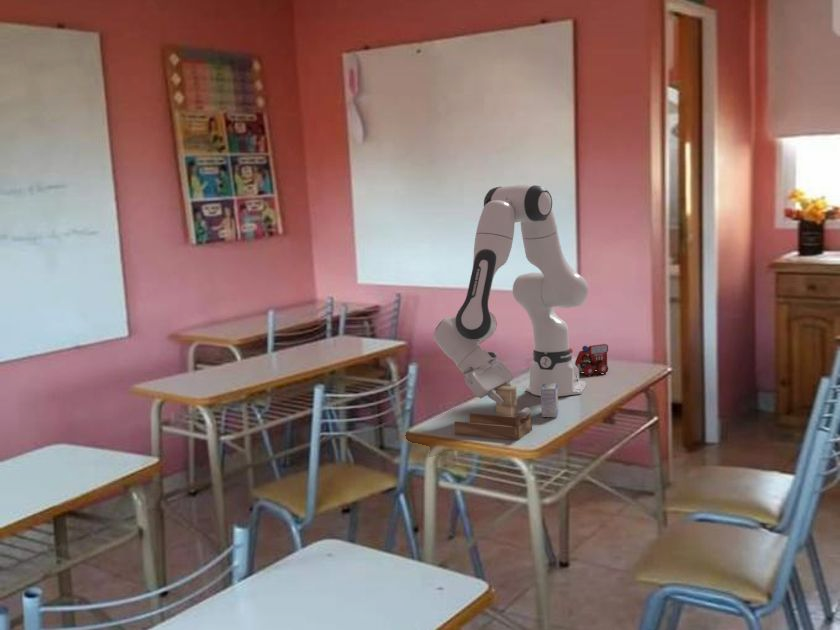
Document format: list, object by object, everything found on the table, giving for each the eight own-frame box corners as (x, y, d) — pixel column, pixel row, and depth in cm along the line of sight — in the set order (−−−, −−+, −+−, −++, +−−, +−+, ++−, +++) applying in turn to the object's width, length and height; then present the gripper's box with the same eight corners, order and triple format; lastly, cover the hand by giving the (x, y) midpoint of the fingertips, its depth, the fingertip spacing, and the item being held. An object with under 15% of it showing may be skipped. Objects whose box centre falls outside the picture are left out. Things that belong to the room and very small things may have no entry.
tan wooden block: (503, 418, 268) (501, 385, 267) (517, 420, 266) (516, 386, 265) (497, 422, 264) (495, 388, 263) (511, 424, 262) (510, 389, 261)
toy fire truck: (571, 373, 325) (570, 345, 324) (603, 370, 329) (602, 341, 327) (580, 377, 319) (579, 348, 317) (612, 373, 322) (611, 344, 321)
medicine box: (557, 418, 266) (556, 388, 265) (541, 418, 267) (540, 388, 266) (558, 411, 274) (557, 382, 273) (543, 411, 275) (542, 383, 274)
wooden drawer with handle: (470, 424, 263) (469, 401, 262) (534, 430, 254) (533, 405, 253) (454, 434, 254) (453, 409, 253) (520, 440, 245) (519, 414, 244)
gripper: (467, 364, 257) (500, 401, 254) (496, 351, 275) (528, 385, 271) (453, 379, 260) (486, 415, 256) (483, 365, 278) (514, 398, 274)
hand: (508, 399), depth 264 cm, fingers open, 7 cm apart
